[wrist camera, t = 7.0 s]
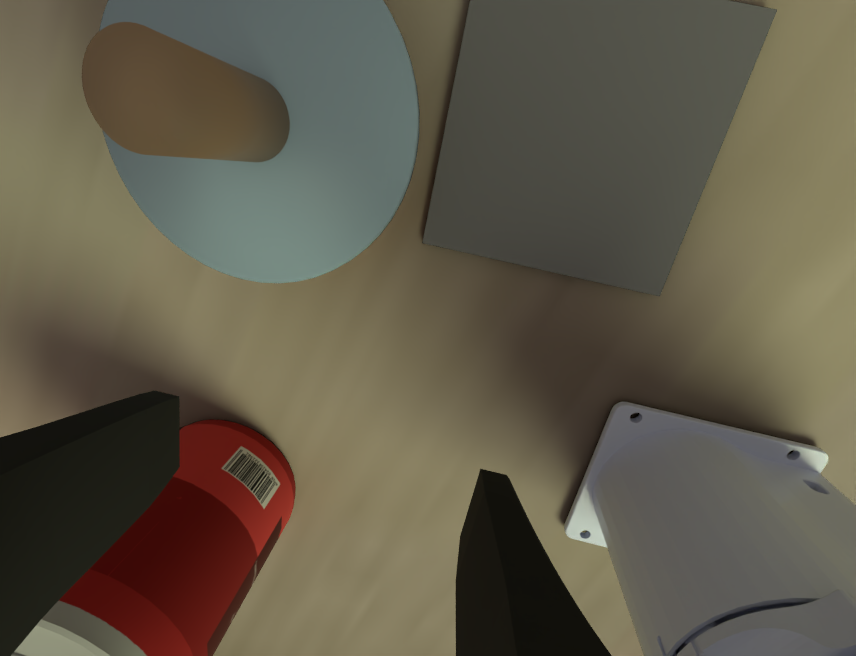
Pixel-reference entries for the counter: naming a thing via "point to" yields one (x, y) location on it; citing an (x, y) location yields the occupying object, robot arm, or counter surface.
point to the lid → (258, 126)
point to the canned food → (179, 555)
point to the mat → (589, 131)
